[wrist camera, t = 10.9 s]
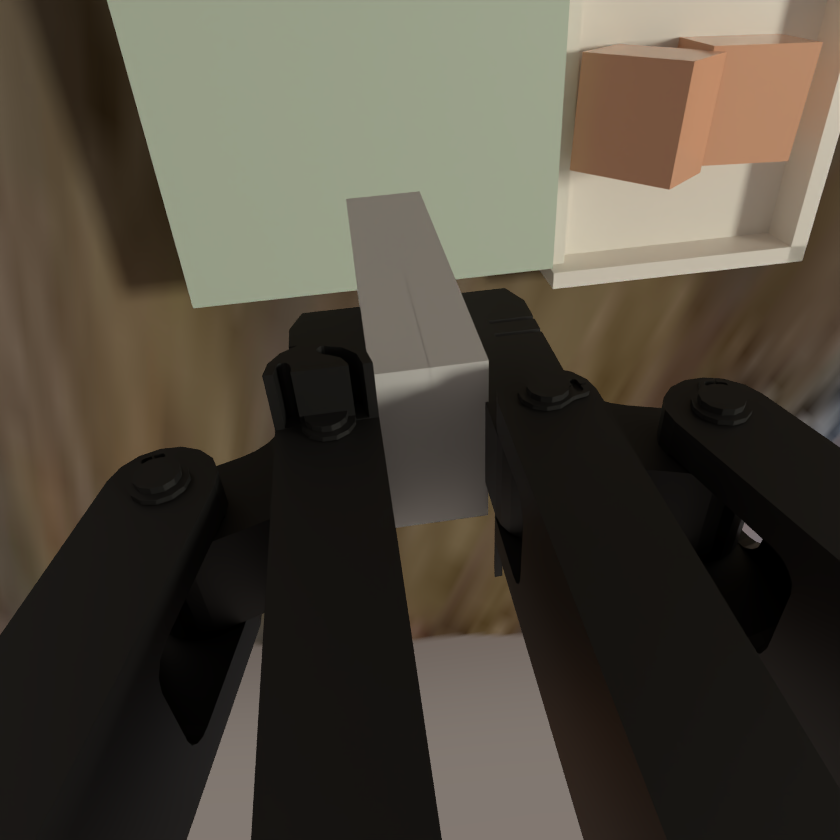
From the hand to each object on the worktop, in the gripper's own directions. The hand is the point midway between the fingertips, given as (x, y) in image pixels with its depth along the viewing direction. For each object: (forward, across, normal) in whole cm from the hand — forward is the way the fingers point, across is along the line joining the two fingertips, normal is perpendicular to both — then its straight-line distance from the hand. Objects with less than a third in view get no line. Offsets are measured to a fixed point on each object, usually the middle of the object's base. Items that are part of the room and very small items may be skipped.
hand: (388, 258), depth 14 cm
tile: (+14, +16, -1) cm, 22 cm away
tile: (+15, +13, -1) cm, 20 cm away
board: (+18, 0, -1) cm, 18 cm away
